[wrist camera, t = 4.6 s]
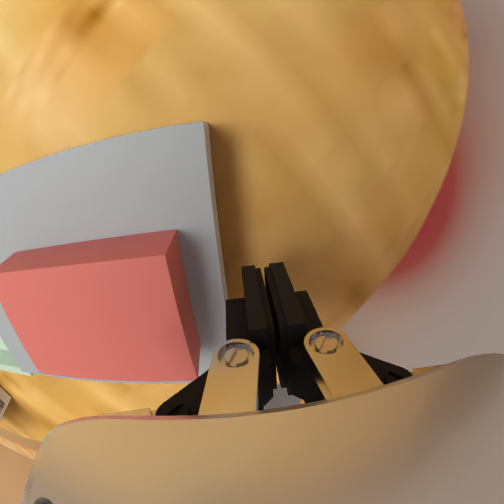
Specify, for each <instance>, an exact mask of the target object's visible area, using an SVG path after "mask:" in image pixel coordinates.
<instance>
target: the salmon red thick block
mask: <svg viewBox="0 0 504 504" xmlns="http://www.w3.org/2000/svg"><path fill="white" fill-rule="evenodd" d="M0 303H1V305H2V307H3V309H4V311H5V313H6V315H7V317H8V319H9V321H10V323H11V325H12V327H13V329H14V331H15V333H16V334H17V336H18V338H19V340H20V342H21V343H22V345H23V347H24V348H25V350H26V352H27V353H28V355H29V357H30V358H31V360H32V362H33V363H34V365H35V366H36V368H37V369H38V371H39V372H40V373H43V374H50V375H58V376H66V377H75V378H86V379H99V380H115V381H148V382H166V381H194V380H195V379H196V378H198V374H199V360H200V347H201V344H200V339H199V335H198V331H197V327H196V323H195V318H194V314H193V310H192V305H191V300H190V296H189V291H188V286H187V282H186V277H185V272H184V267H183V261H182V256H181V251H180V245H179V240H178V234H177V229H174V230H166V231H158V232H149V233H141V234H133V235H126V236H118V237H111V238H103V239H96V240H89V241H82V242H75V243H69V244H62V245H55V246H49V247H43V248H37V249H30V250H24V251H18V252H15V253H13V254H12V255H11V256H10V257H8V258H7V259H6V260H5V261H4V262H2V263H1V264H0Z"/></svg>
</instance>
